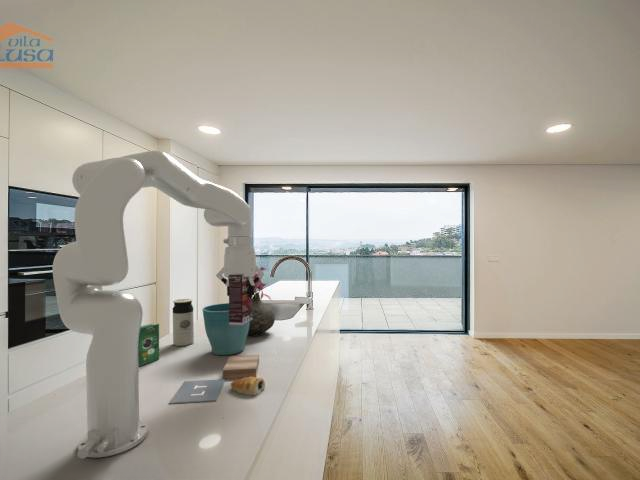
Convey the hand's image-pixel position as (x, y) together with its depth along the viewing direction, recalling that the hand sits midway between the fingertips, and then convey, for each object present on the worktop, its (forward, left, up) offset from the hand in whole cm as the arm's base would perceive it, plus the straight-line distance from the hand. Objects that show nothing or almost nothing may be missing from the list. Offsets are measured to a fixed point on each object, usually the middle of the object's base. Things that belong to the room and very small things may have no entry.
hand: (241, 297), depth 115 cm
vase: (+45, -1, -24) cm, 51 cm away
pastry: (-16, -4, -24) cm, 29 cm away
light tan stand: (0, 0, -24) cm, 24 cm away
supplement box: (0, 0, -8) cm, 8 cm away
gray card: (-15, +10, -24) cm, 30 cm away
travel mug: (+34, +28, -24) cm, 50 cm away
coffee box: (+12, +34, -24) cm, 43 cm away
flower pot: (+21, +8, -24) cm, 33 cm away
